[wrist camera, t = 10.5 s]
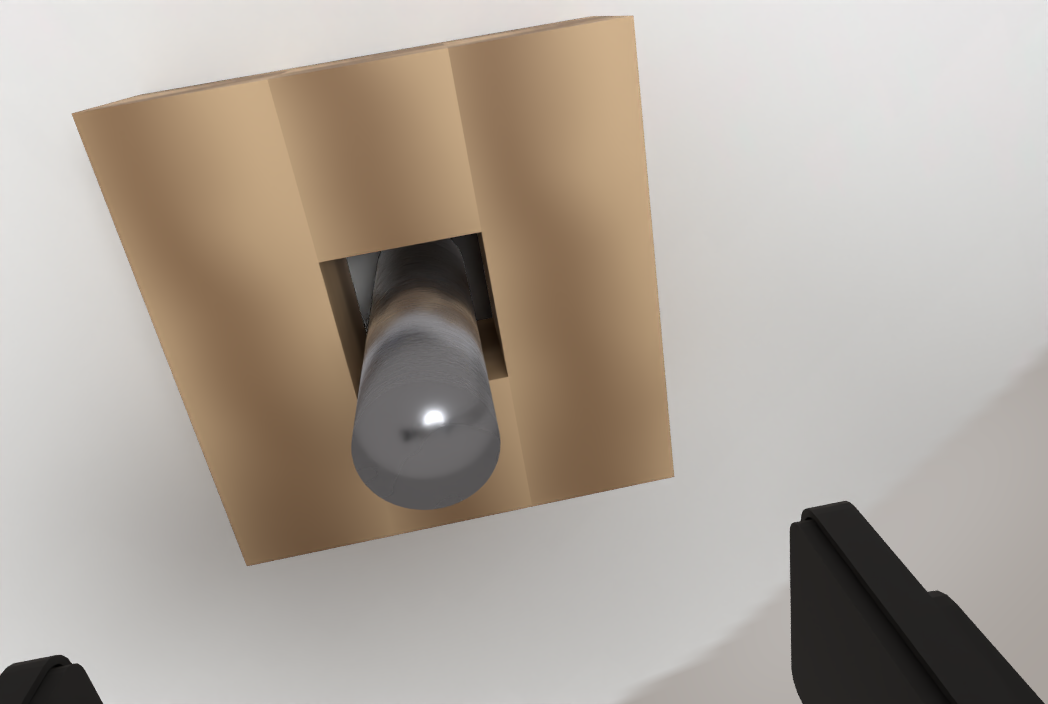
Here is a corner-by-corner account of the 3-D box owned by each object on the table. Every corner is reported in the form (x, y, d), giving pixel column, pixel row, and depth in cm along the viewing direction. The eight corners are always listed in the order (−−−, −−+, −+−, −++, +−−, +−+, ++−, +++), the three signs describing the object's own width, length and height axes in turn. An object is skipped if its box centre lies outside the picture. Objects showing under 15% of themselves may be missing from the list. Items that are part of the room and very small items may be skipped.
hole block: (591, 16, 24) (633, 15, 19) (634, 406, 30) (674, 476, 25) (139, 94, 23) (71, 113, 19) (273, 479, 29) (246, 566, 24)
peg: (455, 219, 26) (486, 367, 15) (472, 302, 27) (511, 493, 16) (367, 236, 26) (334, 397, 15) (388, 318, 27) (371, 522, 16)
